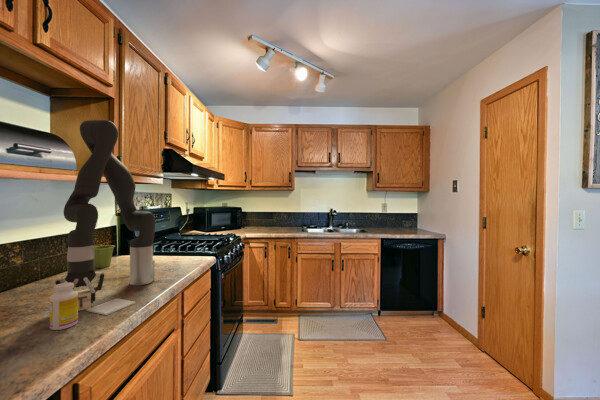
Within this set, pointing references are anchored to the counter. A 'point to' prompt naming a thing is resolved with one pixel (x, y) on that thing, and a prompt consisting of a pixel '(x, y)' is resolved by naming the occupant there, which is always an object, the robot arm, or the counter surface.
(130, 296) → the counter surface
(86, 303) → the tan cube block
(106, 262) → the plant pot
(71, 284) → the supplement bottle
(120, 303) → the mat
